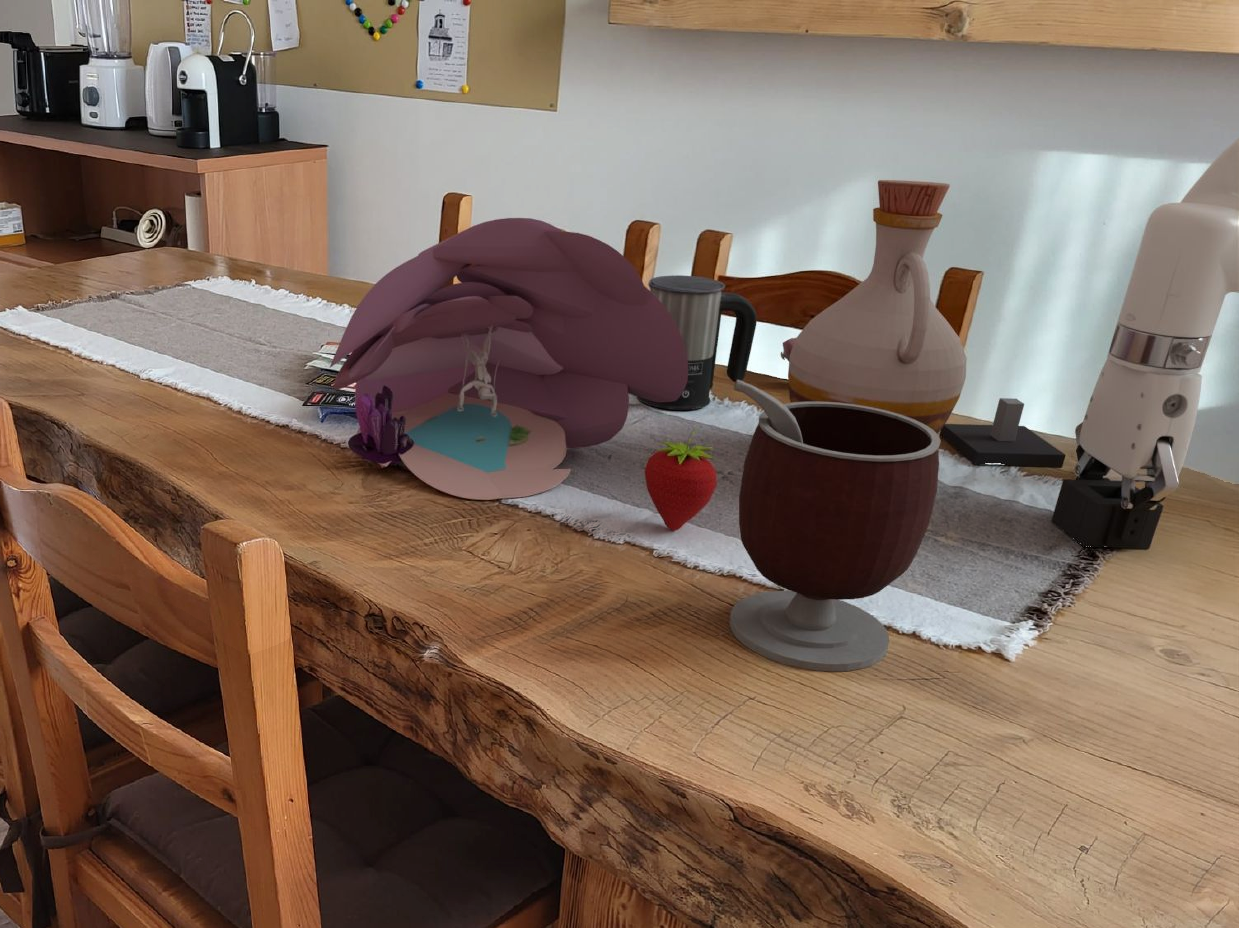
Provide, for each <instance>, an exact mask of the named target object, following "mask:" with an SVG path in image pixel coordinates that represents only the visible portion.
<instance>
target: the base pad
mask: <svg viewBox="0 0 1239 928" xmlns="http://www.w3.org/2000/svg"><path fill="white" fill-rule="evenodd" d="M997 403H998V404H997V406H996V411H995V415H994V419H993V422H992V424H969V423H967V424H965V423H964V424H963V423H945V424H944V426H943V427H942V429H941V430H940V431H939V437H940V438H942V439H943V440H944V441H945V442H947V443H948V444H949V445H950V446H951V447H953V448H954V449H955V450H957V452H959V453H960V454H961V455H962V456H964V458H966V459H967V460H968V461H970V462H971V463H972V464H974V465H975V464H976V465H975V466H980V465H979V464H985V463H1001V464H1005V465H1015V466H1014V467H1040V468H1041V467H1042V468H1043V467H1044V468H1046V467H1047V468H1063V466H1064V463H1065V459H1066V456H1067V454H1066V453H1064V452H1062V451H1061V450H1060V449H1058V448H1057V447H1055V446H1054V445H1052V444H1051V443H1049V442H1048V441H1047V440H1045V439H1044V438H1042V437H1041V436H1040V435H1038V434H1037V433H1035V432H1034V431H1032V430H1031V429H1029V428H1028V427H1026V426H1025V425H1020V422H1021V418H1022V415H1023V411H1024V407H1025V403H1024V402H1022V401H1020V400H1019V399H1017V398H1011V397H1009V398H1008V397H1007V398H1006V397H1000V398H999V400H998V402H997Z"/></svg>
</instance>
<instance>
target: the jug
mask: <svg viewBox="0 0 1239 928" xmlns="http://www.w3.org/2000/svg"><path fill="white" fill-rule="evenodd" d="M950 187H951V184H950V183H944V182H933V181H919V180H898V179H897V180H896V179H895V180H894V179H879V180H877V190H878V191H877V192H878V205H879V206H878V207H874V208H873V209H872V215H873V216H872V220H873V222H874V223H875V249H874V256H873V263H872V268H871V271H870V273H868V274H869V275H868V276H867V277H866V278H865V279H864V280H863V281H861V282H860V283H859V284H858V285H857V286H855V287H854V288H852V289H851V290H850V291H849V292H848V293H847V294H845V295H844V296H843V297H841V298H840V299H838V300H837V301H836V302H834V303H832V304H831V305H830V306H828V307H827V308H825V309H824V310H823V311H821V312H820V313H818V314H817V315H815V316H814V317H813V318H811V319H810V320H809V322H808V323H807V324H806V325H805V326H804V328H803V329H802V330H801V331H800V332H799V334H798V335H797V336H796V337H795V338H796V340H795V343H794V345H793V348H792V351H791V353H790V359H789V361H788V372H787V380H788V395H789V401H790V402H789V403H793V402H838V403H847V404H855V405H861V406H867V407H873V408H877V409H882V410H886V411H890V412H893V413H897V414H900V415H903V416H906V417H909V418H911V419H914V420H916V421H918V422H921V423H923V424H925V425H926V426H928V427H929V428H931V429H932V430H934V431H935V432H936V433H937V434H938V435H939V434H940V431H941V429H942V427H943V426H944V424H947V422H948V420H949V418H950V417H951V414H953V411H954V409H955V407H956V406H957V403H958V401H959V400H960V397H961V394H962V391H963V388H964V385H965V382H966V379H967V356H966V352H965V350H964V347H963V343H962V341H961V339H960V337H959V335H958V333H956V331H955V330H954V328H953V327H952V326H951V324H950V323H949V322H948V321H947V319H946V318H945V317H944V315H943V314H942V313H941V312H940V311H939V309H938V308H937V307H936V305H935V304H934V302H933V301H932V300H931V284H930V278H929V277H930V275H929V271H928V268H927V264H926V262H925V261H924V259H923V258H924V255H925V252H926V249H927V247H928V244H929V241H930V239H931V237H932V234H933V232H934V230H935V228H938V227H939V225H940V223H941V220H942V218H943V216H944V215H943V214H942V213H940V212H938V211H939V209H940V207H941V205H942V203H943V201H944V199H945V197H946V195H947V193H948V191H949V189H950Z"/></svg>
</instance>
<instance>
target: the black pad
mask: <svg viewBox="0 0 1239 928" xmlns="http://www.w3.org/2000/svg"><path fill="white" fill-rule="evenodd" d="M1121 488H1122V481H1112V480H1075V479H1069V478H1068V479H1067V478H1063V479H1062V482H1061V486H1060V489H1059V493H1058V496H1057V500H1056V503H1055V506H1054V510H1053V514H1052V517H1051V520H1050V521H1051V523H1052V524H1054V525H1055V524H1056V525H1057V526H1056V525H1055V526H1056V527H1058V526H1059V527H1060V528H1061V529H1062V530H1061V529H1060V528H1059V527H1058V528H1059V529H1060V530H1061V531H1063V530H1064V531H1063V532H1064V533H1065V532H1066V533H1067V534H1069V535H1068V537H1070V536H1071V537H1072V538H1074V539H1075V540H1076V541H1077V542H1076V541H1075V540H1074V539H1073V540H1074V541H1075V542H1076V543H1078V544H1079V543H1081V545H1083V546H1084V547H1086V546H1087V547H1088V546H1089V547H1090V546H1091V547H1104V546H1107V545H1106V544H1104V538H1105V535H1106V532H1107V529H1108V526H1109V522H1110V519H1111V516H1112V513H1113V510H1114V507H1115V505H1121ZM1139 490H1141V489H1140V488H1138V487H1136V486H1135V493H1136V492H1138V491H1139ZM1164 507H1165V506H1164V505H1163V504H1162V503H1161V502H1160V503H1158V504H1157V507H1156V509H1155V510H1151V511H1150V514H1149V517H1148V520H1147V523H1146V526H1145V529H1144V532H1143V535H1142V538H1141V541H1140V544H1139V545H1138V546H1137V547H1113V548H1112V549H1124V550H1125V549H1128V550H1134V549H1135V550H1150V548H1151V545H1152V542H1153V539H1154V536H1155V533H1156V530H1157V527H1158V524H1159V521H1160V519H1161V516H1162V513H1163V509H1164ZM1066 533H1065V534H1066ZM1067 534H1066V535H1067ZM1071 537H1070V538H1071ZM1072 538H1071V539H1072ZM1081 545H1080V546H1081ZM1084 547H1083V548H1084ZM1107 547H1109V546H1107Z"/></svg>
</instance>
